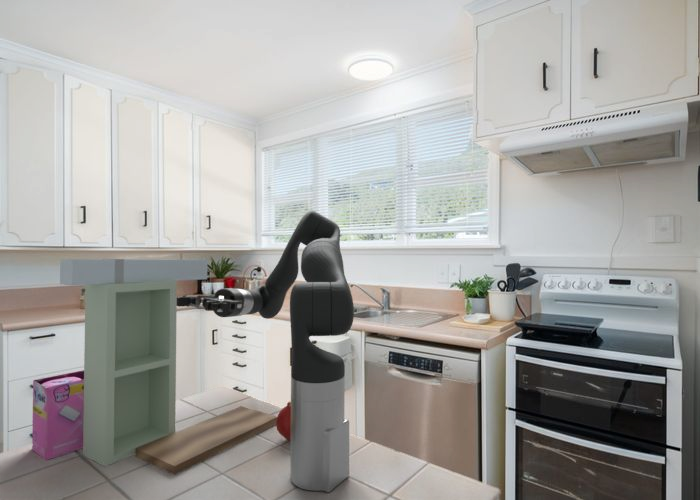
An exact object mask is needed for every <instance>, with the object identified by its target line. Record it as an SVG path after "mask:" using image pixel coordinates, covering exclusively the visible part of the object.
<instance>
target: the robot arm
mask: <svg viewBox="0 0 700 500" xmlns="http://www.w3.org/2000/svg"><path fill="white" fill-rule="evenodd" d="M340 239H341V229H340V227H339V225H338V224H337V223H336V222H334V221H333V220H331V219H329V218H328V217H326V216H324V215H322V214H321V213H319V212H317V211H316V210H311V209H310V210H308V211H307V212H305V214H304V215H303V216H302V217H301V218H300V220H299V222H298V224H297V225H296V227H295V228H294V231H293V233H292V235H291V237H290V239H289V240H288V242H287V244H286V246H285V248H284V250H283V252H282V254H281V257H280V258H279V261H278V262H277V264H276V266H275V267H274V268H273V270H272V272H271V273H270V274H269V276H268V277H267V278H266V280H265V284H259V285H258V286H255V287H254V288H251V289H243V288H228V287H227V288H220V289H218V290H217V291H215V292H214V294H196V295H194V294H191V295H187V294H184V295H182V296H177V307H188V308H189V307H192V308H193V307H194V308H195V309H197V310H205V311H207V312H214V314H215V315H216V316H218V317H221V318H230V317H240V316H244V315H245V316H246V315H253V314H254V315H255V314H257V313H259V315H260V316H261V317H262V318H263V319H272V318H274V317H276V316H277V315H278V314H279V313H280V312H281V310H282V308H283V305H284V302H285V299H286V295H287V293H288V291H289V290H290V288H291V287H292V286H293V287H292V289H291V291H290V295H289V296H290V297H289V317H290V318H289V319H290V337H291V338H290V339H291V341H290V343H291V344H290V345H291V364H290V367H291V368H290V402H291V441H290V450H289V451H290V453H289V454H290V475H289V476H290V481H291V483H292V484H293V485H295V486H296V487H298V488H300V489H302V490H307V491H313V492H315V491H323V492H327V493H330V492H331V491H332V490H333V489H335V488H336V487H337V486H339V485H340V484H341V483H342V482H343V481H344V480H346V478H348V477H349V476H350V420H349V419H346V418H345V391H346V390H345V385H346V384H345V383H346V382H345V381H346V379H345V378H346V377H345V375H346V374H345V372H346V370H345V368H346V366H345V360H344V358H342V356H340V355H338V354H336V353H333V352H330V351H327V350H324V349H323V348H320V347H319V346H317V345H315V344H314V343H313V342H312V341H311V339H310V337H332V336H333V337H335V336H341V335H345V334H347V333H348V332H350V330H351V328H352V326H353V324H354V323H353V322H354V317H355V316H354V315H355V307H354V300H353V299H354V298H353V295H352V291H351V289H350V286H349V283H348V281H347V278H346V276H345V267H344V262H343V261H344V260H343V256H342V253H341V245H340V241H341V240H340ZM300 244H303V245H304V246H305V247H304V249H303V251H302V253H301V260H300V271H301V275H302V277H303V279H304V281H305V282H303V281H301V282H297V283H295V282H296V280H297V278H298V275H299V253H298V252H299V247H300ZM294 283H295V284H294ZM293 284H294V285H293ZM201 304H202V306H201Z"/></svg>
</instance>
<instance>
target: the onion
mask: <svg viewBox="0 0 700 500" xmlns="http://www.w3.org/2000/svg"><path fill="white" fill-rule="evenodd" d="M275 426H276V431H277V432H278V433H279V434H280V435H281V436H282V437H283V438H284V439H285V440H287V441H288V442H291V401H288V402H287V403H286V406H284V407H283V408H282V409H281V410H280V411H279V413H278V414H277V420H276V425H275Z"/></svg>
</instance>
